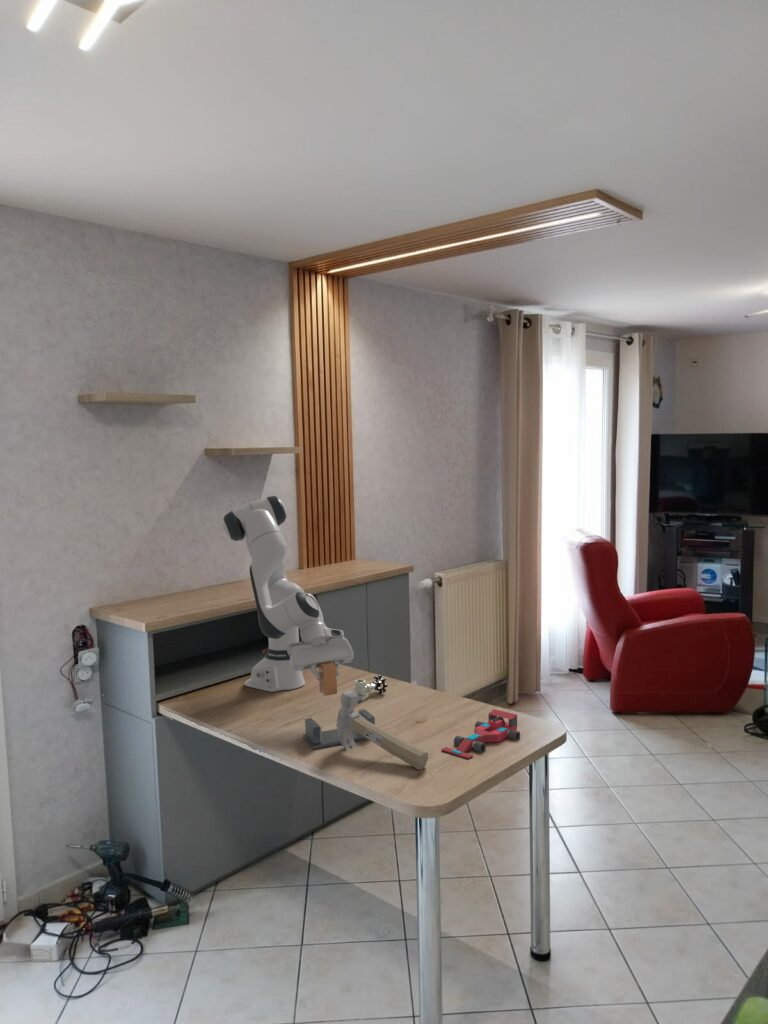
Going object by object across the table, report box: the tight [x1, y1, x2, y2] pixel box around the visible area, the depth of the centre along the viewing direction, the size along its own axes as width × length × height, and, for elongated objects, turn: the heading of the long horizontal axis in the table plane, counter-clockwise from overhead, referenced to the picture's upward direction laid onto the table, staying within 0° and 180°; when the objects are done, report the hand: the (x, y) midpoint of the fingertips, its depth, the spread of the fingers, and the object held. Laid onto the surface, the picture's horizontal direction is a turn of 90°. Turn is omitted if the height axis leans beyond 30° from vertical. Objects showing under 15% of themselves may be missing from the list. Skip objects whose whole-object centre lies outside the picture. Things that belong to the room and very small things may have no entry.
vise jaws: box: [302, 708, 376, 750], centre depth 227 cm, size 10×20×6 cm, turn 113°
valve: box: [353, 674, 389, 702], centre depth 265 cm, size 7×7×12 cm
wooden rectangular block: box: [317, 662, 338, 697], centre depth 238 cm, size 5×4×9 cm
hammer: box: [336, 690, 429, 771], centre depth 211 cm, size 16×5×30 cm
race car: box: [440, 709, 521, 760], centre depth 220 cm, size 14×6×25 cm
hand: (328, 677), depth 238 cm, fingers closed on wooden rectangular block, 4 cm apart
